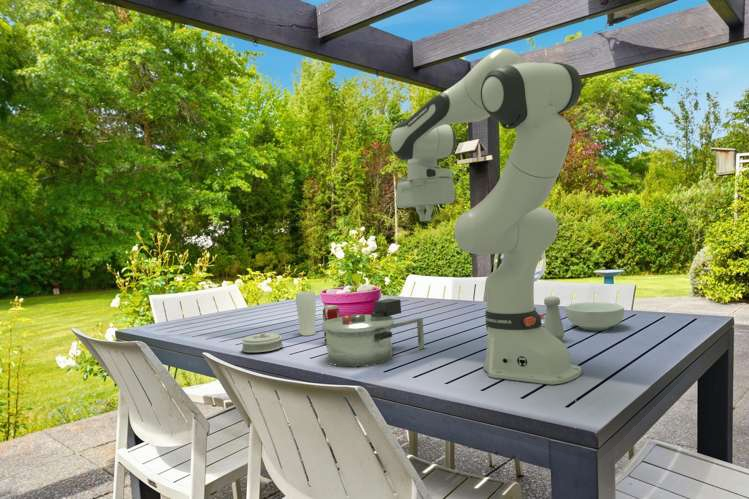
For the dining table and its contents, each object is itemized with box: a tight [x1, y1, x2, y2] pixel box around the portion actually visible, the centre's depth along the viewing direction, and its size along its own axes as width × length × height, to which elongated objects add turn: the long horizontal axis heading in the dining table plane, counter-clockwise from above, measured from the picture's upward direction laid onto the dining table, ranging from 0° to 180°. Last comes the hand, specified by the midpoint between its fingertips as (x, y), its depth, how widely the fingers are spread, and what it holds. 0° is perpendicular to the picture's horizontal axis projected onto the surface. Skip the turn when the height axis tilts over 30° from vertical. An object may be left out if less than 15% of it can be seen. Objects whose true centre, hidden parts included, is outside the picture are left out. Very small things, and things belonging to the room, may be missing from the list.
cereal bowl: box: [565, 301, 625, 332], centre depth 163 cm, size 17×17×7 cm
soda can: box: [322, 304, 340, 345], centre depth 165 cm, size 5×5×12 cm
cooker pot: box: [326, 317, 425, 367], centre depth 147 cm, size 22×27×9 cm
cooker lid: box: [321, 298, 402, 333], centre depth 145 cm, size 20×25×5 cm
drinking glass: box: [295, 290, 317, 337], centre depth 181 cm, size 7×7×15 cm
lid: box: [241, 332, 284, 353], centre depth 162 cm, size 13×13×5 cm
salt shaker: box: [543, 296, 565, 342], centre depth 148 cm, size 6×6×13 cm
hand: (425, 221), depth 151 cm, fingers closed
